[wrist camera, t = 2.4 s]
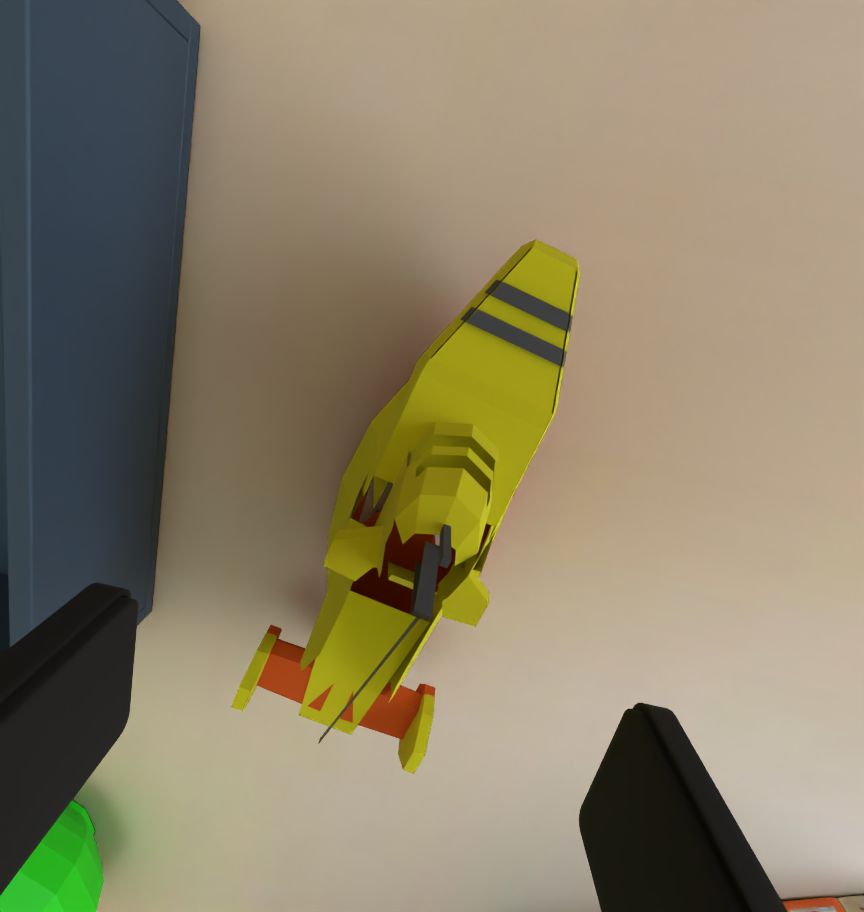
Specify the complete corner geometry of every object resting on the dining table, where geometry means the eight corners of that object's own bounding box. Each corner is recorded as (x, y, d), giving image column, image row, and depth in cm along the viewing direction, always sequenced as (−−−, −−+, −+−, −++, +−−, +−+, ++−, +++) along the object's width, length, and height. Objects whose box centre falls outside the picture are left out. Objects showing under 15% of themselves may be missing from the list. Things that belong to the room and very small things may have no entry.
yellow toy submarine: (277, 626, 22) (145, 878, 12) (444, 221, 17) (438, 117, 7) (409, 677, 22) (379, 954, 13) (610, 301, 17) (808, 305, 8)
